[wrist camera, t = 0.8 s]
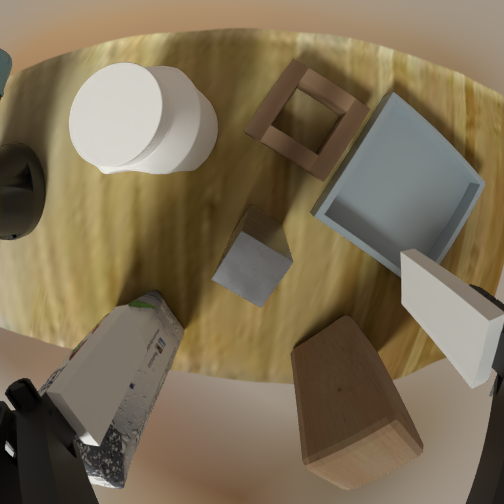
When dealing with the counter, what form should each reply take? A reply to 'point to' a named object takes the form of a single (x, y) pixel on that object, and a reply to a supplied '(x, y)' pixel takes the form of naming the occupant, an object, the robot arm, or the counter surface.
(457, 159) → the tray
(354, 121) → the hollow square tube
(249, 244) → the grey block
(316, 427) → the wooden block
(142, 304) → the juice carton
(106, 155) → the jar
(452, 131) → the counter surface
